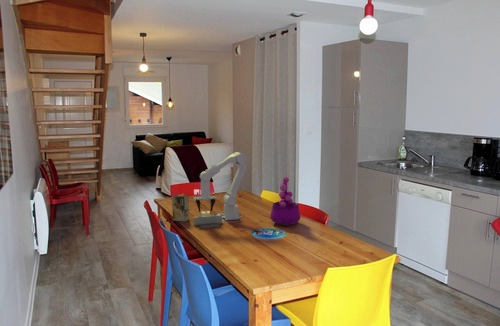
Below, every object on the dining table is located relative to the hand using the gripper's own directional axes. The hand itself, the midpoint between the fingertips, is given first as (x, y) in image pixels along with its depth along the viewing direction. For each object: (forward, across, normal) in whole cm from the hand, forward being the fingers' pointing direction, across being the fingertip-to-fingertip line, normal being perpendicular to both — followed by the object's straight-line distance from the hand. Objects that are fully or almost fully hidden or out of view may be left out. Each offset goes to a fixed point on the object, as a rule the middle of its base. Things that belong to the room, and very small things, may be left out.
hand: (205, 211), depth 267 cm
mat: (+6, 0, -12) cm, 14 cm away
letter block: (+6, 0, 0) cm, 7 cm away
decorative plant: (+6, +47, -20) cm, 52 cm away
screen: (+6, 0, -7) cm, 9 cm away
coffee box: (+7, -15, +7) cm, 18 cm away
